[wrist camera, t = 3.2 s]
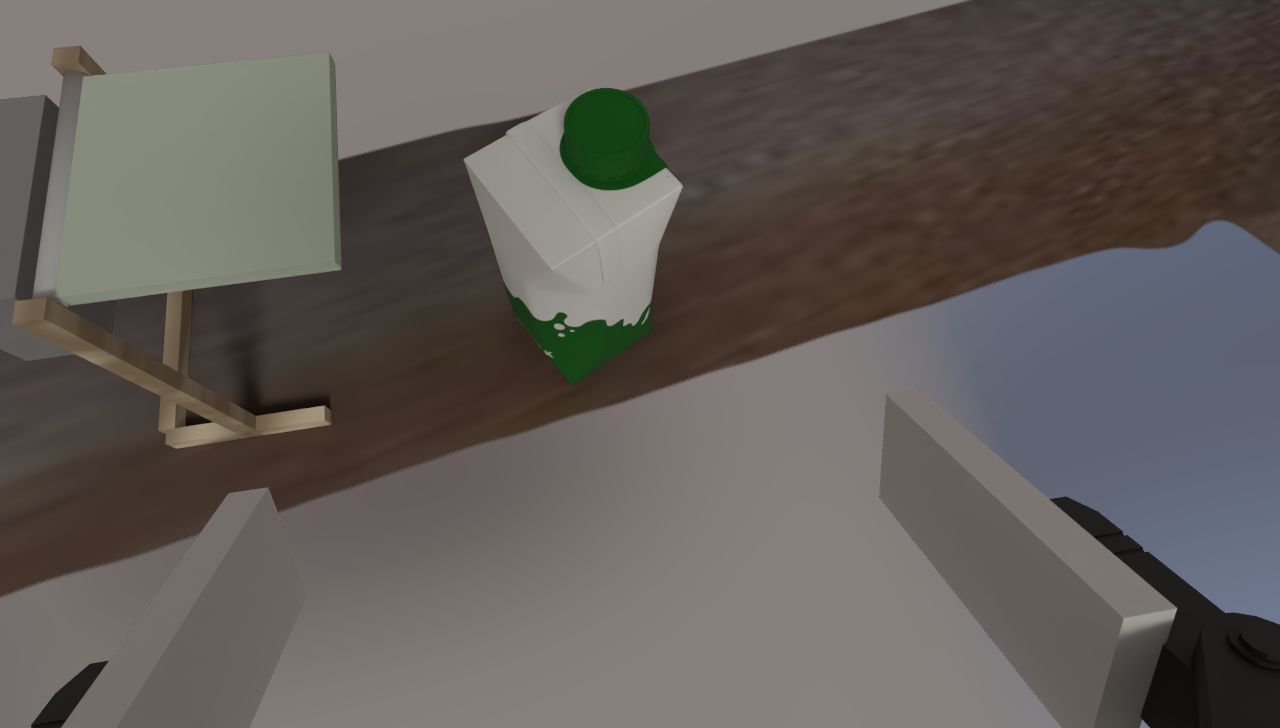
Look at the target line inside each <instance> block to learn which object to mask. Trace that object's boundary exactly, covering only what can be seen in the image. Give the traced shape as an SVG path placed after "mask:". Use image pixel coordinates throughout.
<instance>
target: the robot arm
mask: <svg viewBox="0 0 1280 728" xmlns="http://www.w3.org/2000/svg"><path fill="white" fill-rule="evenodd" d="M880 479H881V480H880V493H879V498H880V499H881V500H882V502H883V503H884V504H885V505H886V506H887V508H888V509H889V510H890V512H891V513H892V514H893V515H894V517H895V518H896V519H897V521H898V522H899V523H900V524H901V525H902V527H903V528H904V529H905V531H906V532H907V533H908V534H909V536H910V537H911V538H912V539H913V541H914V542H915V543H916V544H917V546H918V547H919V548H920V550H921V551H922V552H923V553H924V555H925V556H926V557H927V558H928V560H929V561H930V562H931V563H932V565H933V566H934V567H935V569H936V570H937V571H938V572H939V574H940V575H941V576H942V577H943V579H944V580H945V581H946V582H947V584H948V585H949V586H950V587H951V589H952V590H953V591H954V592H955V594H956V595H957V596H958V598H959V599H960V600H961V601H962V603H963V604H964V605H965V606H966V608H967V609H968V610H969V611H970V613H971V614H972V615H973V616H974V618H975V619H976V620H977V622H979V624H980V625H981V626H982V628H983V629H984V630H985V632H986V633H987V634H988V636H989V637H990V638H991V639H992V640H993V642H994V643H995V644H996V646H997V647H998V648H999V649H1000V651H1001V652H1002V653H1003V654H1004V656H1005V657H1006V658H1007V660H1008V661H1009V662H1010V663H1011V665H1012V666H1013V667H1014V668H1015V670H1016V671H1017V672H1018V673H1019V675H1020V676H1021V677H1022V678H1023V680H1024V681H1025V682H1026V684H1027V685H1028V686H1029V687H1030V689H1031V690H1032V691H1033V692H1034V694H1035V695H1036V696H1037V697H1038V699H1039V700H1040V701H1041V703H1042V704H1043V705H1044V706H1045V708H1046V709H1047V710H1048V711H1049V713H1050V714H1051V715H1052V716H1053V718H1054V719H1055V720H1056V721H1057V723H1058V724H1059V725H1060V726H1061V728H1139V727H1140V724H1141V721H1142V719H1143V720H1144V721H1145V723H1146V724H1147V725H1148V726H1149V727H1150V728H1280V625H1279V624H1276V623H1274V622H1271V621H1268V620H1265V619H1262V618H1260V617H1257V616H1251V615H1245V614H1239V613H1224V612H1223V611H1222V610H1221V609H1219V608H1218V607H1217V606H1216V605H1214V604H1213V603H1212V602H1211V601H1209V600H1208V599H1207V598H1206V597H1204V596H1203V595H1202V594H1200V593H1199V592H1198V591H1197V590H1196V589H1194V588H1193V587H1192V586H1190V585H1189V584H1188V583H1187V582H1185V581H1184V580H1183V579H1181V578H1180V577H1179V576H1178V575H1177V574H1175V573H1174V572H1172V570H1170V569H1169V568H1168V567H1167V566H1165V565H1164V564H1163V563H1162V562H1160V561H1159V560H1158V559H1157V558H1155V557H1154V556H1153V555H1151V554H1150V553H1149V552H1144V551H1143V547H1141V546H1140V545H1139V544H1137V542H1135V541H1134V540H1133V539H1131V538H1130V537H1129V536H1128V535H1126V536H1124V535H1123V532H1122V530H1120V529H1119V528H1117V527H1116V526H1115V525H1114V524H1113V523H1111V522H1110V521H1109V520H1108V519H1106V518H1105V517H1104V516H1102V515H1101V514H1100V513H1099V512H1097V511H1095V510H1093V509H1091V508H1089V507H1087V506H1085V505H1083V504H1081V503H1078V502H1077V501H1074V500H1072V499H1070V498H1068V497H1061V498H1055V499H1048V498H1047V497H1046V496H1044V495H1043V494H1042V493H1041V492H1040V491H1039V490H1037V489H1036V488H1035V487H1034V486H1033V485H1032V484H1030V483H1029V482H1028V481H1027V480H1026V479H1024V478H1023V477H1022V476H1021V475H1020V474H1019V473H1017V472H1016V471H1015V470H1014V469H1013V468H1011V467H1010V466H1009V465H1008V464H1006V462H1005V461H1003V460H1002V459H1001V458H1000V457H999V456H997V455H996V454H995V453H994V452H993V451H992V450H990V449H989V448H988V447H987V446H986V445H984V444H983V443H982V442H981V441H980V440H979V439H977V438H976V437H975V436H974V435H973V434H972V433H970V432H969V431H968V430H967V429H966V428H964V427H963V426H962V425H961V424H960V423H959V422H957V421H956V420H955V419H954V418H953V417H952V416H950V415H949V414H948V413H947V412H946V411H944V410H943V409H942V408H941V407H940V406H939V405H937V404H936V403H935V402H934V401H933V400H931V399H930V398H929V397H928V396H927V395H926V394H924V393H923V392H922V391H921V390H920V389H917V390H910V391H904V392H897V393H891V394H886V405H885V421H884V434H883V449H882V464H881V478H880ZM307 593H308V590H307V587H306V585H305V582H304V580H303V577H302V574H301V572H300V569H299V567H298V564H297V561H296V559H295V556H294V554H293V551H292V548H291V546H290V543H289V540H288V538H287V535H286V533H285V530H284V527H283V525H282V522H281V520H280V517H279V514H278V512H277V509H276V507H275V504H274V501H273V499H272V496H271V494H270V491H269V488H261V489H255V490H248V491H241V492H235V493H229V494H228V495H227V497H226V498H225V499H224V501H223V502H222V504H221V505H220V506H219V508H218V509H217V511H216V512H215V513H214V515H213V516H212V518H211V519H210V520H209V522H208V523H207V525H206V526H205V527H204V529H203V530H202V532H201V533H200V534H199V536H198V537H197V539H196V540H195V541H194V543H193V544H192V546H191V547H190V548H189V550H188V551H187V553H186V554H185V555H184V557H183V558H182V560H181V561H180V562H179V564H178V565H177V566H176V568H175V569H174V571H173V572H172V574H171V575H170V576H169V578H168V579H167V580H166V582H165V583H164V585H163V586H162V587H161V589H160V590H159V592H158V593H157V594H156V596H155V597H154V599H153V600H152V602H151V603H150V604H149V606H148V607H147V609H146V610H145V611H144V613H143V614H142V615H141V617H140V618H139V620H138V621H137V622H136V624H135V625H134V627H133V628H132V630H131V631H130V632H129V634H128V635H127V636H126V638H125V639H124V641H123V642H122V643H121V645H120V646H119V648H118V649H117V650H116V652H115V653H114V655H113V656H112V657H111V659H110V660H109V661H104V662H99V663H93V664H89V665H88V666H87V667H86V668H85V669H83V671H81V672H80V673H79V674H78V675H76V676H75V677H74V678H73V679H72V680H71V681H69V682H68V683H67V684H66V685H65V686H64V687H63V688H61V689H60V690H59V691H58V692H57V693H55V695H54V696H53V697H52V699H51V700H50V701H49V702H48V704H47V705H46V707H45V708H44V709H43V710H42V712H41V713H40V714H39V716H38V717H37V718H36V720H35V721H34V722H33V724H32V725H31V728H250V725H251V723H252V721H253V718H254V716H255V714H256V711H257V709H258V707H259V705H260V702H261V700H262V698H263V695H264V693H265V691H266V688H267V686H268V684H269V681H270V679H271V677H272V674H273V672H274V670H275V668H276V665H277V663H278V661H279V658H280V656H281V653H282V651H283V649H284V647H285V644H286V642H287V640H288V637H289V635H290V633H291V630H292V628H293V625H294V623H295V621H296V619H297V617H298V614H299V612H300V609H301V607H302V605H303V603H304V600H305V598H306V596H307Z"/></svg>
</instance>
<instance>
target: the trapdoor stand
mask: <svg viewBox="0 0 1280 728" xmlns="http://www.w3.org/2000/svg"><path fill="white" fill-rule="evenodd" d="M51 65H52V66H53V67H54V68H55V69H56V70H57V71H58V72H59V73H60V74H61V75H62V76H63V77H64V74H65V73H66V72H69V71H77V72H81V73H84V74H86V75H88V76H94V75H104V74H106V73H105V72H104V71H103V70H102V69H101V68H100V67H99V66H98V64H97V63H95V61H94V60H93V59H92V58H91V57H90V56H89V55H88V54H87V53H86V51H85V50H83V48H82V47H81V46H74V47H63V48H54V50H53V56H52V63H51ZM192 295H193V289H192V290H184V291H177V292H169V293H168V294H167V309H166V324H165V339H164V354H163V363H162V362H160V361H158V360H156V359H155V358H153V357H151V356H149V355H148V354H146V353H144V352H142V351H141V350H139V349H137V348H135V347H133V346H132V345H130V344H128V343H126V342H125V341H123V340H121V339H119V338H118V337H116V336H114V335H112V334H111V333H109V332H107V331H105V330H104V329H102V328H100V327H98V326H97V325H95V324H93V323H91V322H89V321H88V320H86V319H84V318H82V317H81V316H79V315H77V314H75V313H74V312H72V311H70V310H68V309H67V308H65V307H63V306H61V305H60V304H58V303H56V302H54V301H52V300H51V299H49V298H47V297H44V298H37V299H29V300H21V301H15V308H14V314H13V321H12V323H13V324H15V325H17V326H19V327H21V328H23V329H25V330H27V331H29V332H31V333H33V334H35V335H37V336H39V337H41V338H43V339H45V340H48V341H50V342H52V343H54V344H56V345H58V346H60V347H62V348H64V349H66V350H68V351H70V352H72V353H74V354H76V355H78V356H80V357H82V358H84V359H86V360H88V361H90V362H92V363H94V364H96V365H98V366H100V367H102V368H104V369H106V370H109V371H111V372H113V373H115V374H117V375H119V376H121V377H123V378H125V379H127V380H129V381H131V382H133V383H135V384H137V385H139V386H141V387H143V388H145V389H147V390H149V391H151V392H153V393H155V394H157V395H159V396H161V399H160V414H159V429H158V431H160V432H163V433H165V434H166V445H169V446H171V447H174V448H176V449H177V448H183V447H190V446H196V445H203V444H209V443H216V442H222V441H229V440H235V439H242V438H248V437H255V436H261V435H268V434H274V433H281V432H287V431H294V430H300V429H307V428H313V427H320V426H326V425H332V421H331V410H330V409H328V408H327V407H326V406H318V407H312V408H305V409H299V410H292V411H285V412H279V413H272V414H265V415H259V416H255V415H253V414H251V413H250V412H248V411H246V410H244V409H243V408H241V407H239V406H237V405H236V404H234V403H232V402H230V401H229V400H227V399H225V398H223V397H221V396H220V395H218V394H216V393H214V392H213V391H211V390H209V389H207V388H206V387H204V386H202V385H200V384H199V383H197V382H195V381H193V380H192V379H190V378H188V371H189V352H190V333H191V314H192ZM186 409H188V410H190V411H192V412H194V413H196V414H198V415H200V416H202V417H204V418H206V419H208V420H210V421H212V422H213V423H206V424H199V425H193V426H186Z"/></svg>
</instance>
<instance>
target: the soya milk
mask: <svg viewBox="0 0 1280 728" xmlns="http://www.w3.org/2000/svg"><path fill="white" fill-rule="evenodd" d="M649 130H650V122H649V117H648V113H647V111H646V109H645V107H644V106H643V105H642V103H641V102H640V101H639V100H638V99H636V98H635V97H634V96H632V95H631V94H629V93H627V92H624V91H621V90H618V89H612V88H600V89H595V88H593V87H589V88H587V89H585V90H583V91H581V92H580V93H578V94H576V95H574V96H572V97H570V98H568V99H567V100H565V101H563V102H561V103H559V104H557V105H556V106H554V107H552V108H550V109H548V110H546V111H545V112H543V113H541V114H539V115H537V116H535V117H534V118H532V119H530V120H528V121H526V122H522V123H520V124H518V125H516V126H515V127H513V128H511V129H510V130H508V131H507V132H506V135H505V136H504V137H502V138H500V139H498V140H497V141H495V142H493V143H491V144H489V145H488V146H486V147H484V148H482V149H480V150H479V151H477V152H475V153H473V154H472V155H470V156H468V157H466V158H465V159H463V160H464V163H465V165H466V168H467V171H468V174H469V177H470V180H471V182H472V185H473V188H474V191H475V194H476V197H477V200H478V203H479V206H480V209H481V212H482V215H483V218H484V221H485V224H486V227H487V230H488V233H489V236H490V239H491V243H492V246H493V249H494V252H495V255H496V259H497V262H498V265H499V268H500V271H501V274H502V278H503V281H504V284H505V287H506V290H507V293H508V297H509V300H510V303H511V306H512V309H513V312H514V314H515V315H516V317H517V318H518V319H519V321H520V322H521V323H522V325H523V326H524V327H525V329H526V330H527V331H528V332H529V334H530V335H531V336H532V338H533V339H534V340H535V342H536V343H537V344H538V346H539V347H540V348H541V349H542V350H543V352H544V353H545V354H546V355H547V356H548V357H549V359H550V360H551V361H552V362H553V363H554V364H555V366H556V367H557V368H558V369H559V370H560V371H561V372H562V374H563V375H564V376H565V377H566V378H567V379H568V381H569V382H570V383H571V384H572V385H574V384H576V383H577V382H578V381H580V380H581V379H583V378H584V377H586V376H587V375H589V374H590V373H591V372H593V371H594V370H596V369H597V368H599V367H600V366H602V365H603V364H605V363H606V362H607V361H609V360H610V359H612V358H613V357H615V356H616V355H618V354H619V353H620V352H622V351H623V350H625V349H626V348H628V347H629V346H631V345H632V344H633V343H635V342H636V341H638V340H639V339H641V338H642V337H644V336H645V335H646V334H648V333H649V332H651V331H652V291H653V284H654V276H655V269H656V262H657V255H658V248H659V243H660V241H661V238H662V236H663V233H664V231H665V228H666V226H667V224H668V221H669V219H670V216H671V214H672V211H673V209H674V207H675V204H676V202H677V199H678V197H679V194H680V192H681V190H682V187H683V186H682V184H681V183H680V182H679V181H678V180H677V179H676V178H675V177H674V176H673V175H672V174H671V173H670V172H669V171H668V169H667V167H668V166H667V164H666V163H665V162H664V161H663V160H662V159H661V158H660V157H659V156H658V155H657V154H656V152H655V149H654V147H653V144H652V142H651V141H650V139H649Z"/></svg>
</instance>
